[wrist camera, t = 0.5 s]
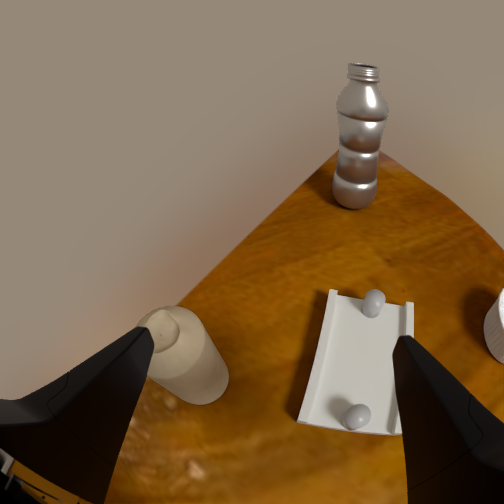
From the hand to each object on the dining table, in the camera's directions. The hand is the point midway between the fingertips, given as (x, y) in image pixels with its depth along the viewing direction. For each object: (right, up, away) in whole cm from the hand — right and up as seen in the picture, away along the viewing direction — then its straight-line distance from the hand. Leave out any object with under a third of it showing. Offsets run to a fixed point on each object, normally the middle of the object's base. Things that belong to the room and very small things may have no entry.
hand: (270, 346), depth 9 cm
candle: (-5, -9, +14) cm, 17 cm away
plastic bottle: (+14, +10, +29) cm, 34 cm away
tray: (+9, -7, +13) cm, 18 cm away
